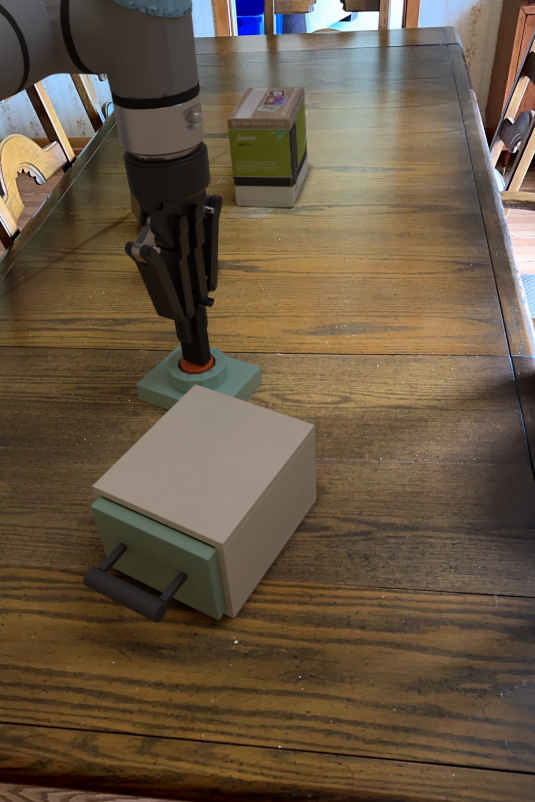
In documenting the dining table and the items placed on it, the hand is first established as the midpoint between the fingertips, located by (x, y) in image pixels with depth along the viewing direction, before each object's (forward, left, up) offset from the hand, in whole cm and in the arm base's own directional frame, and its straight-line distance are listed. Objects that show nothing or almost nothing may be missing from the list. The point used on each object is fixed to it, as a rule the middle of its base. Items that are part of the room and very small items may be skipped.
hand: (197, 359), depth 78 cm
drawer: (+13, -20, -4) cm, 24 cm away
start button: (0, 0, -2) cm, 2 cm away
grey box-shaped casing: (+13, -16, -5) cm, 21 cm away
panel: (0, 0, -5) cm, 5 cm away
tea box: (-20, +51, -5) cm, 55 cm away
